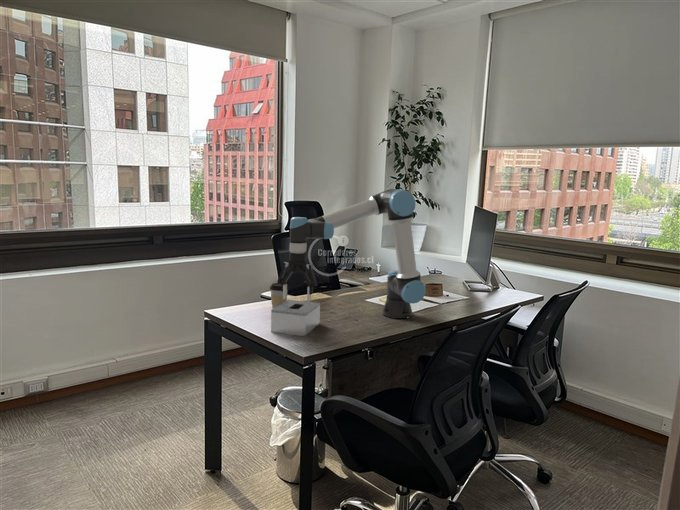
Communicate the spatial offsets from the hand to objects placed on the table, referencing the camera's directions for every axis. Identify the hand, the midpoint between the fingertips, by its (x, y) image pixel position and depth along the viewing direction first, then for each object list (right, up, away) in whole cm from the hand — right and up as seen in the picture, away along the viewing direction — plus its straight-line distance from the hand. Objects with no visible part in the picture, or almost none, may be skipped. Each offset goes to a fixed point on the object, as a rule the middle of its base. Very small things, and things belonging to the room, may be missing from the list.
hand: (296, 300), depth 223 cm
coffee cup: (-11, -9, +23) cm, 27 cm away
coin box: (0, -13, +2) cm, 13 cm away
